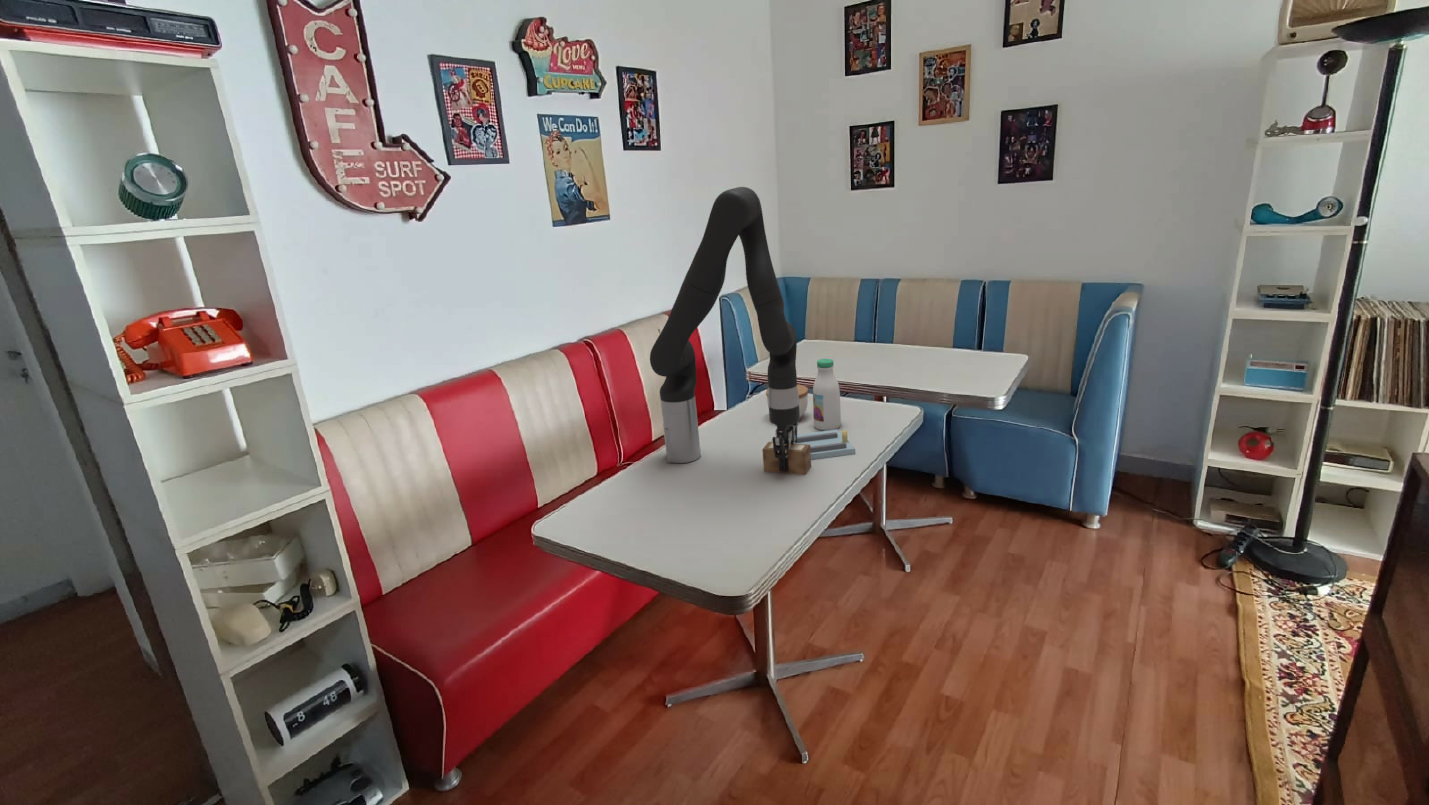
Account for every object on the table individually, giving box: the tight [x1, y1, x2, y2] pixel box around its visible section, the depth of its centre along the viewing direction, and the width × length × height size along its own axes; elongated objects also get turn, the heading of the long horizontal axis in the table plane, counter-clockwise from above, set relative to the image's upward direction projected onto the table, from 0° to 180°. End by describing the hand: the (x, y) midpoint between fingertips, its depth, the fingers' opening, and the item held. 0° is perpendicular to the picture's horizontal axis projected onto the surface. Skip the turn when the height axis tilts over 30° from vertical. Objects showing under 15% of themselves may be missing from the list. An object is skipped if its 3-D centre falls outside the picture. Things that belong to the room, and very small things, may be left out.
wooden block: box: [762, 441, 812, 475], centre depth 175 cm, size 11×5×6 cm, turn 67°
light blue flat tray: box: [795, 428, 856, 461], centre depth 187 cm, size 16×15×4 cm
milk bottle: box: [812, 358, 842, 431], centre depth 199 cm, size 8×8×20 cm
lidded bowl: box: [765, 383, 809, 418], centre depth 210 cm, size 13×13×11 cm
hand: (787, 466), depth 176 cm, fingers closed on wooden block, 5 cm apart
